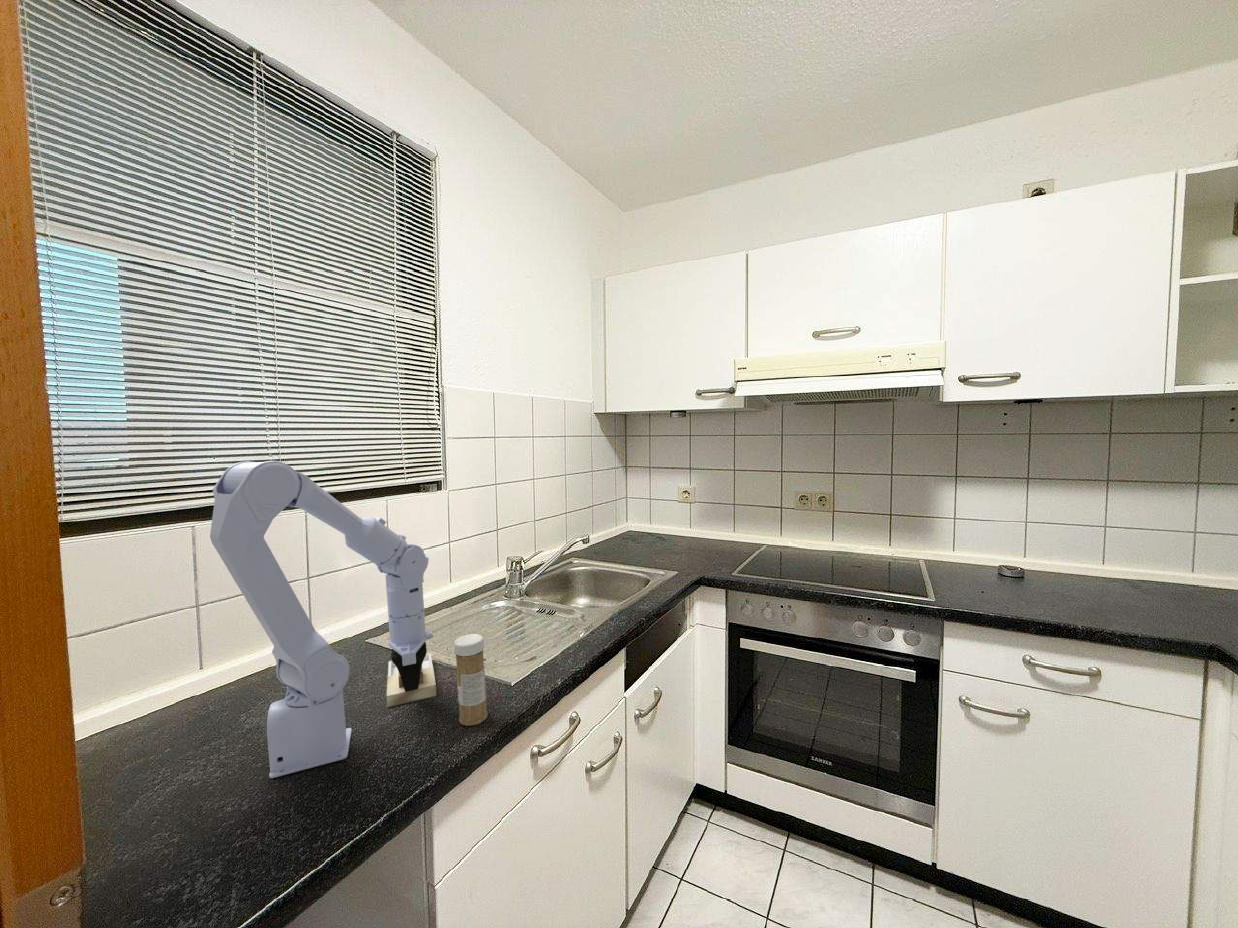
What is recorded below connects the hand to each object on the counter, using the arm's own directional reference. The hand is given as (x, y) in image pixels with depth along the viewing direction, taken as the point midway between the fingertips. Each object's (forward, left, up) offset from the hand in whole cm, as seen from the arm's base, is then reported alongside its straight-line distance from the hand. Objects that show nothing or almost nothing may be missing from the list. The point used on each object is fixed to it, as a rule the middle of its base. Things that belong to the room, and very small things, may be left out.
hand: (411, 688), depth 86 cm
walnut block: (0, +5, -1) cm, 5 cm away
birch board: (0, +5, -3) cm, 6 cm away
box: (0, +13, -3) cm, 13 cm away
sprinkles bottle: (+9, -10, -3) cm, 14 cm away
